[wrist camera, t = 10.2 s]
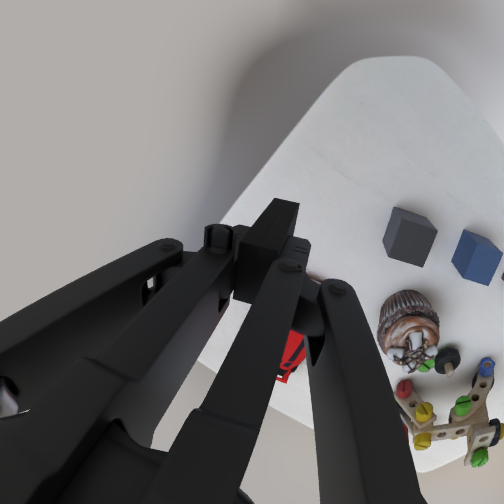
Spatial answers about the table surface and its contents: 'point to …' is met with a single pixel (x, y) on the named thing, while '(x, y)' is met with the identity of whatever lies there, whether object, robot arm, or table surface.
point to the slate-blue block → (476, 258)
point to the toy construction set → (452, 411)
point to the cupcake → (408, 330)
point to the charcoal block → (409, 237)
